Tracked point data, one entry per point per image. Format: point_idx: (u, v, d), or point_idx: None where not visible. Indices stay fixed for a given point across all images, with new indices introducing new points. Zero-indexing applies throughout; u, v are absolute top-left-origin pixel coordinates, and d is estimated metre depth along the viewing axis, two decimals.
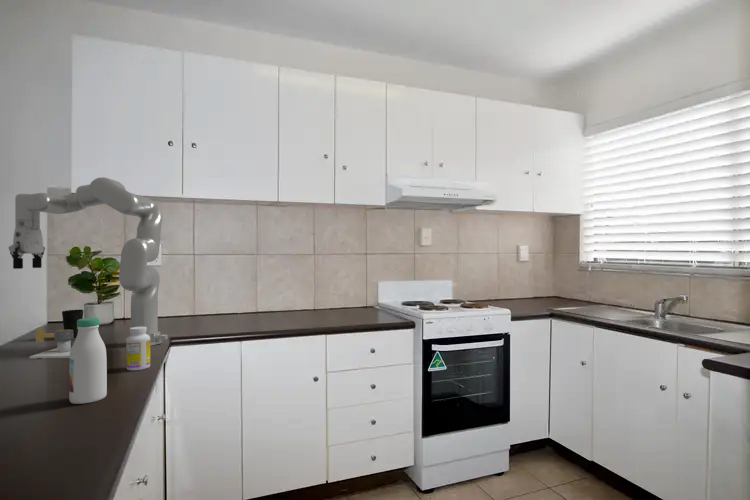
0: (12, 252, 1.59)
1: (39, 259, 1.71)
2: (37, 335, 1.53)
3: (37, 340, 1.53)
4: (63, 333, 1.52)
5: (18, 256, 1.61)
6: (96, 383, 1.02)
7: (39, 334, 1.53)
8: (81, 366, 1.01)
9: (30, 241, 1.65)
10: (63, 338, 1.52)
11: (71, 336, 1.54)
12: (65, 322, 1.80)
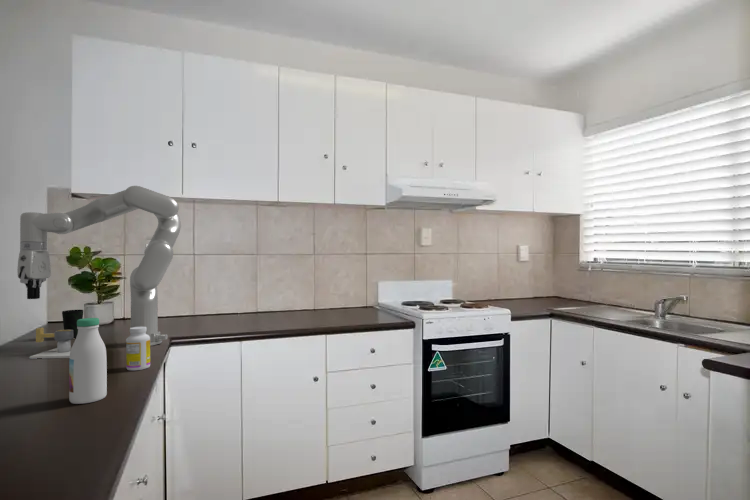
0: (27, 283, 1.46)
1: None
2: (37, 335, 1.53)
3: (37, 340, 1.53)
4: (63, 333, 1.52)
5: (33, 287, 1.48)
6: (96, 383, 1.02)
7: (39, 334, 1.53)
8: (81, 366, 1.01)
9: (36, 265, 1.47)
10: (63, 338, 1.52)
11: (71, 336, 1.54)
12: (65, 322, 1.80)
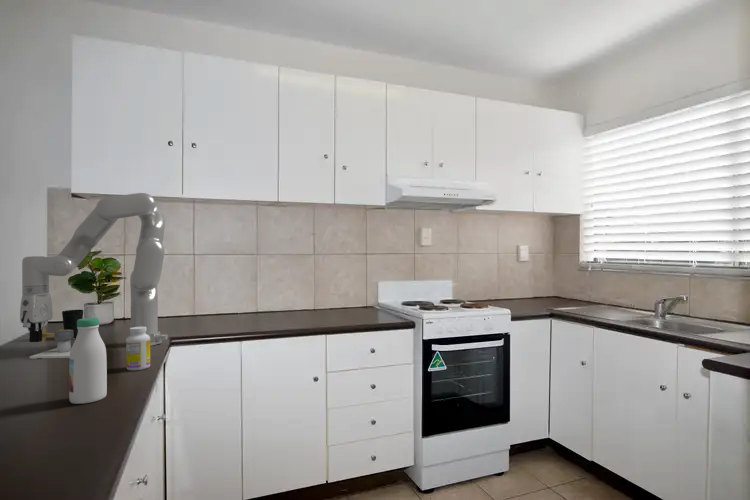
0: (29, 327, 1.47)
1: (39, 332, 1.51)
2: None
3: None
4: (63, 334, 1.52)
5: (35, 330, 1.49)
6: (96, 383, 1.02)
7: None
8: (81, 366, 1.01)
9: (39, 309, 1.49)
10: (62, 338, 1.52)
11: (71, 336, 1.54)
12: (65, 322, 1.80)
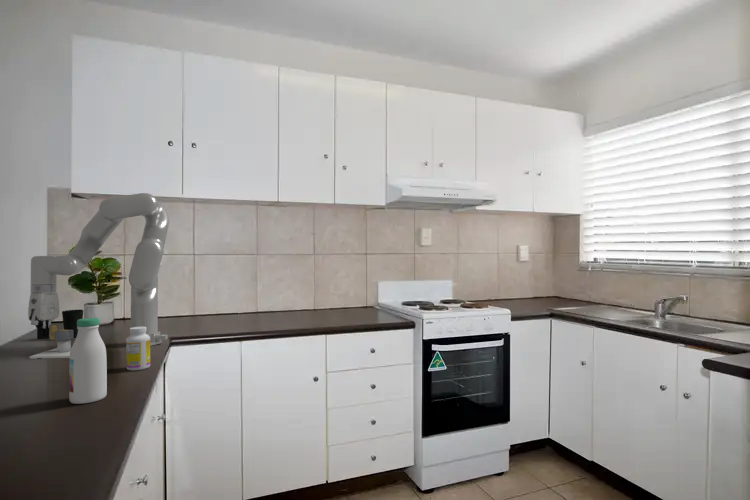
0: (37, 324, 1.52)
1: (47, 329, 1.55)
2: (50, 332, 1.58)
3: (50, 337, 1.58)
4: (58, 334, 1.51)
5: (43, 327, 1.54)
6: (96, 383, 1.02)
7: (51, 332, 1.57)
8: (81, 366, 1.01)
9: (46, 307, 1.53)
10: (58, 338, 1.51)
11: (67, 337, 1.52)
12: (65, 322, 1.80)
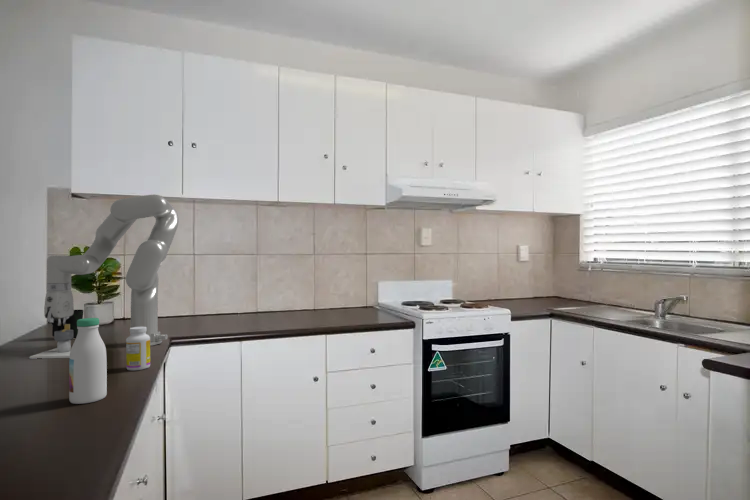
0: (52, 322, 1.56)
1: (61, 326, 1.60)
2: None
3: None
4: (55, 334, 1.51)
5: (58, 325, 1.58)
6: (96, 383, 1.02)
7: None
8: (81, 366, 1.01)
9: (62, 305, 1.58)
10: (55, 338, 1.51)
11: (62, 337, 1.51)
12: (65, 322, 1.80)
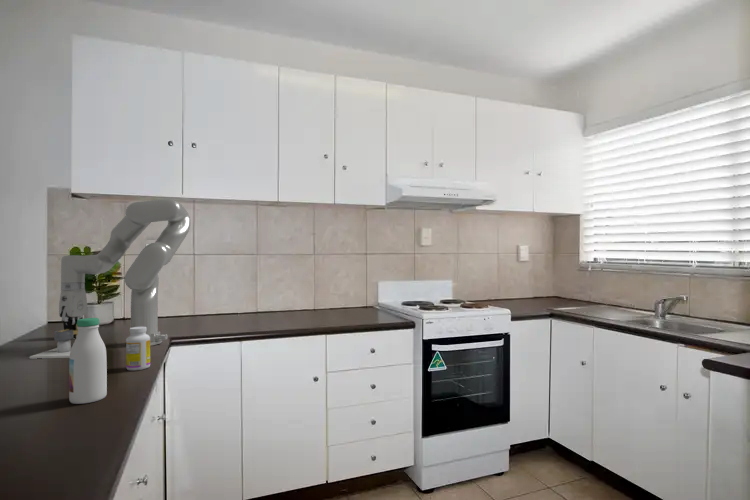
0: (67, 321, 1.59)
1: None
2: None
3: None
4: (54, 333, 1.52)
5: (72, 324, 1.61)
6: (96, 383, 1.02)
7: None
8: (81, 366, 1.01)
9: (76, 304, 1.60)
10: (54, 338, 1.52)
11: (58, 338, 1.51)
12: (65, 322, 1.80)
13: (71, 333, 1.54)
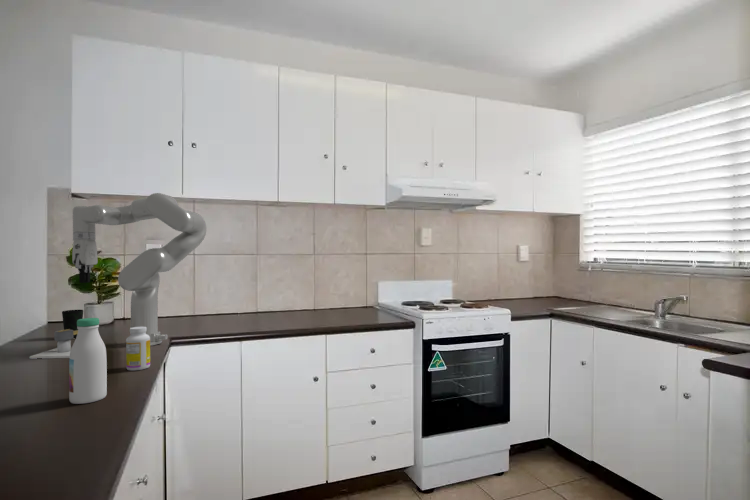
0: (80, 268, 1.66)
1: None
2: None
3: None
4: None
5: (85, 272, 1.68)
6: (96, 383, 1.02)
7: None
8: (81, 366, 1.01)
9: (88, 253, 1.67)
10: None
11: (56, 338, 1.51)
12: (65, 322, 1.80)
13: (70, 333, 1.53)
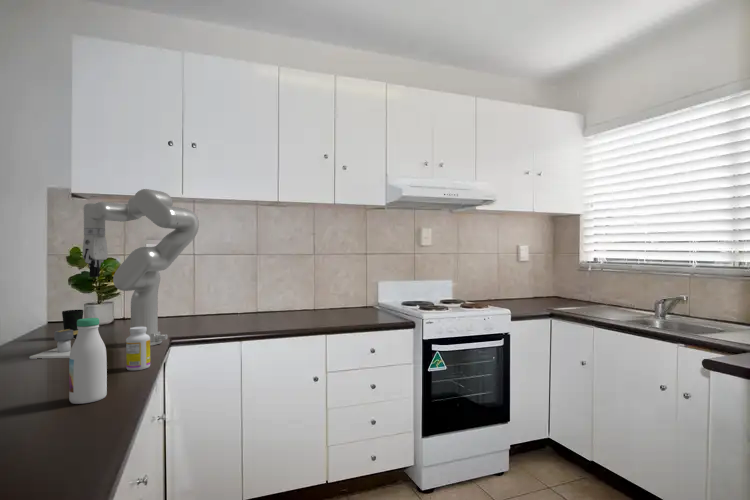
0: (90, 263, 1.73)
1: (98, 268, 1.76)
2: None
3: None
4: None
5: (95, 266, 1.75)
6: (96, 383, 1.02)
7: None
8: (81, 366, 1.01)
9: (98, 248, 1.74)
10: None
11: (56, 338, 1.51)
12: (65, 322, 1.80)
13: (70, 333, 1.53)
